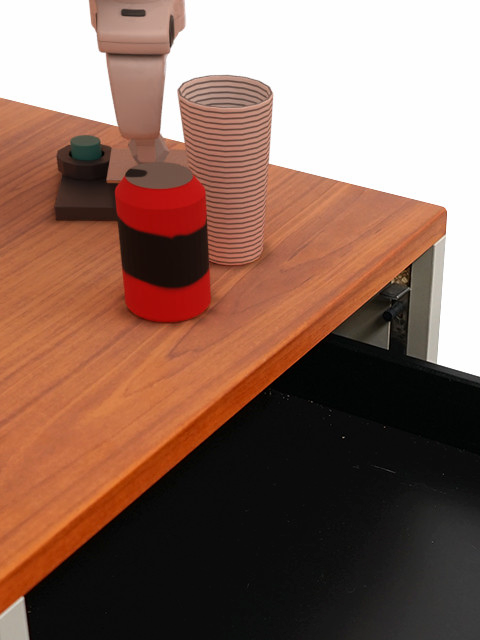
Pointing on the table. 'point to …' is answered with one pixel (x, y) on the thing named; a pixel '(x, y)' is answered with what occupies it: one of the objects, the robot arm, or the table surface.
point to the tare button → (85, 147)
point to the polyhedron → (160, 150)
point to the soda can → (163, 242)
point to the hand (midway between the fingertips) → (148, 149)
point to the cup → (229, 159)
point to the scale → (85, 188)
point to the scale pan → (124, 161)
